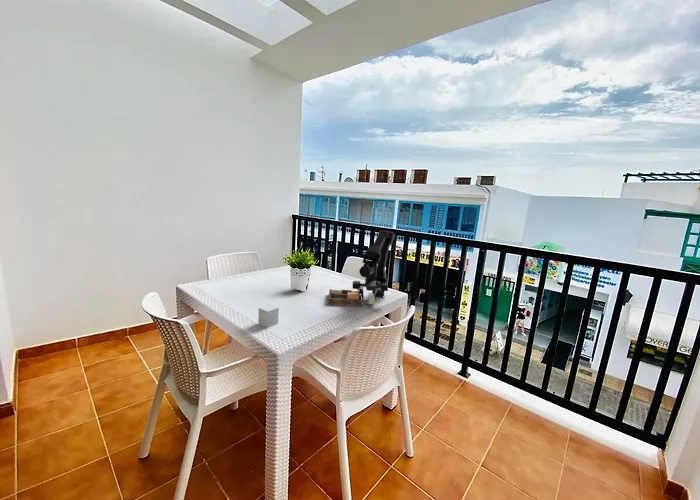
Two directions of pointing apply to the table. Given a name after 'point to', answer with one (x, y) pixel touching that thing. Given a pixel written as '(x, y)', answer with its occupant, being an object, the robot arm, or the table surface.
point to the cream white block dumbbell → (340, 290)
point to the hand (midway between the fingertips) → (368, 301)
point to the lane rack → (343, 299)
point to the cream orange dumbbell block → (370, 300)
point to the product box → (268, 315)
